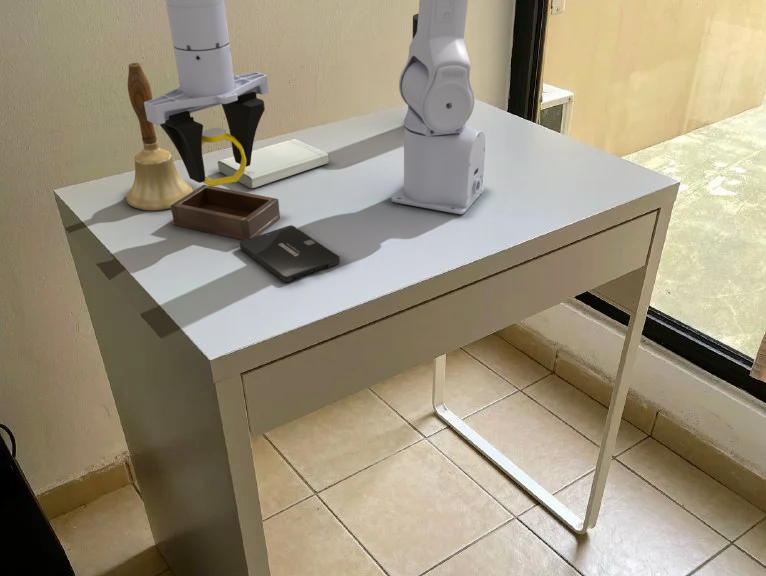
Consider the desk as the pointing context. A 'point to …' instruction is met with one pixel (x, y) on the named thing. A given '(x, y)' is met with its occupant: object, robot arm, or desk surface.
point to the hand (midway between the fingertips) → (220, 171)
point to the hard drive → (276, 162)
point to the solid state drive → (289, 253)
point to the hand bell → (151, 156)
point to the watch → (217, 136)
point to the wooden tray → (226, 212)
